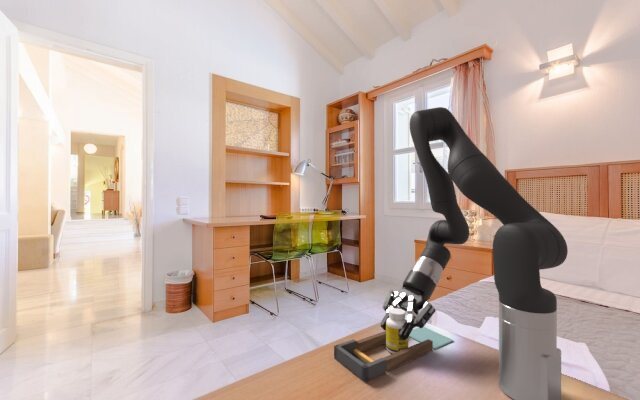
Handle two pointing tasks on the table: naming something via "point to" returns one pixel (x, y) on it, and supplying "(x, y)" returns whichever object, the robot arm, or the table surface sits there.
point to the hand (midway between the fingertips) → (392, 333)
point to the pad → (429, 337)
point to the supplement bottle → (395, 331)
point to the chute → (398, 357)
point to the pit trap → (359, 361)
